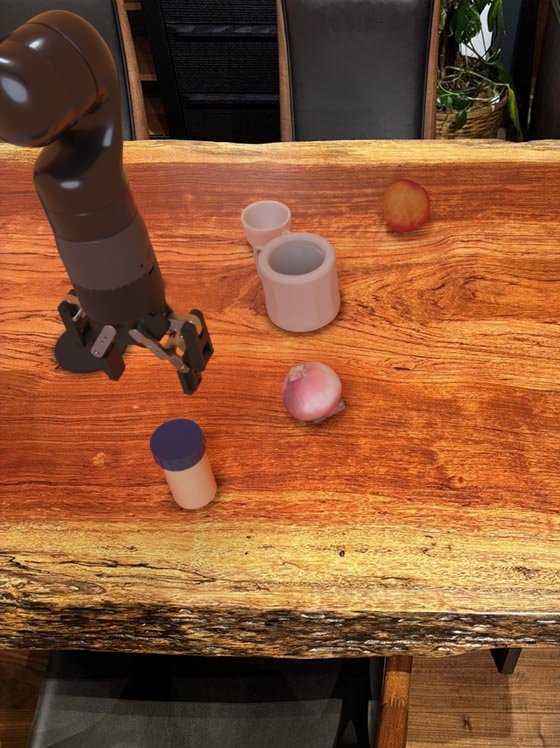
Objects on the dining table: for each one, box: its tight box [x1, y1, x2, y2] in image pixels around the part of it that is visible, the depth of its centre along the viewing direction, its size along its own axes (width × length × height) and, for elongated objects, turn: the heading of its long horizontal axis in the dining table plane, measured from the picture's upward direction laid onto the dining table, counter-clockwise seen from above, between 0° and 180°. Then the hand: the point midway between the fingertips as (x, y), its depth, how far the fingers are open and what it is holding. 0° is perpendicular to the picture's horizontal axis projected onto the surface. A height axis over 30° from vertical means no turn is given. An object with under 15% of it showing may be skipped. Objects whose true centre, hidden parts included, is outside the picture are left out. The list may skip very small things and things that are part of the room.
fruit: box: [381, 177, 431, 234], centre depth 126 cm, size 8×8×8 cm
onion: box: [280, 360, 346, 424], centre depth 102 cm, size 8×8×7 cm
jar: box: [161, 451, 218, 510], centre depth 93 cm, size 5×5×10 cm
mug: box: [252, 231, 341, 333], centre depth 114 cm, size 14×11×10 cm
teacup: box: [240, 199, 293, 248], centre depth 125 cm, size 10×8×5 cm
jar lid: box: [149, 418, 207, 472], centre depth 90 cm, size 6×6×2 cm
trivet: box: [53, 319, 128, 375], centre depth 113 cm, size 10×10×1 cm
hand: (155, 381), depth 82 cm, fingers open, 7 cm apart
